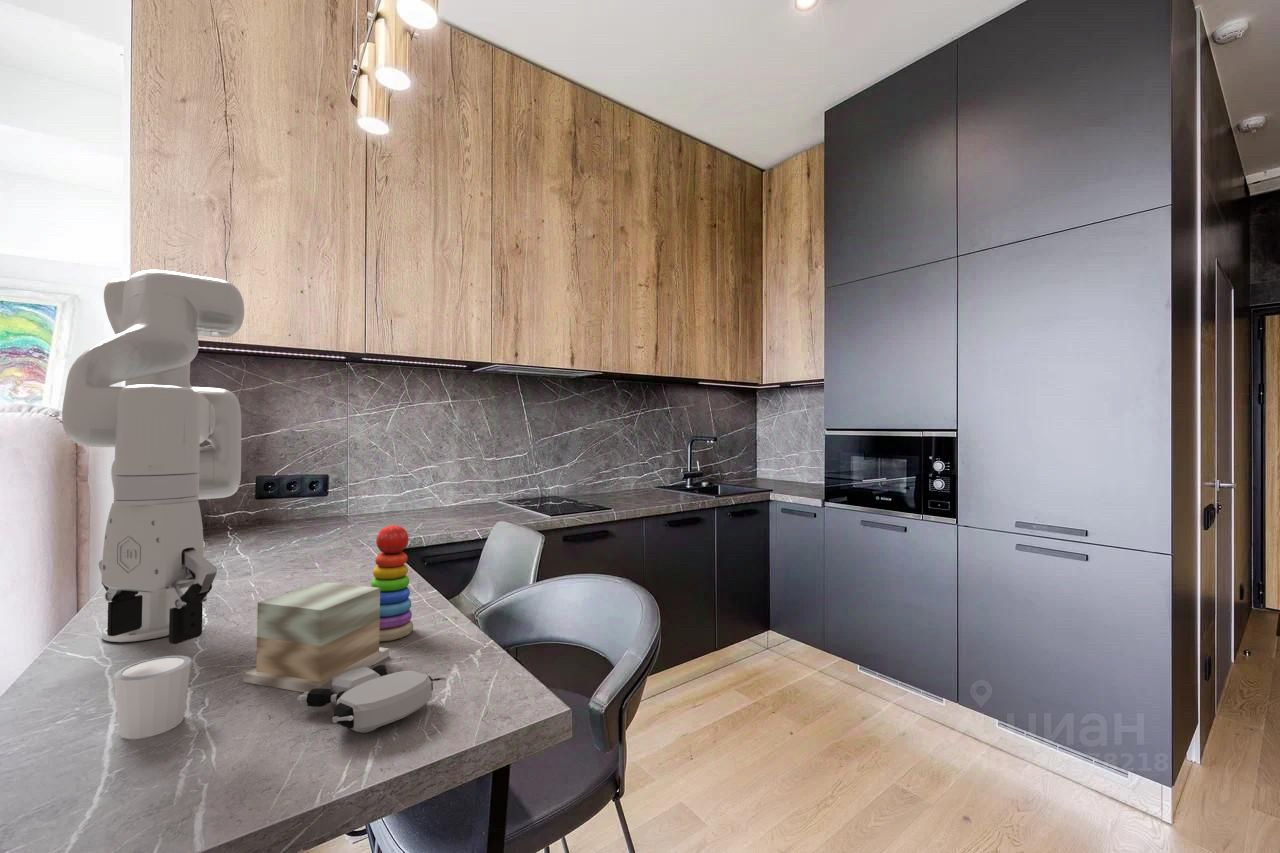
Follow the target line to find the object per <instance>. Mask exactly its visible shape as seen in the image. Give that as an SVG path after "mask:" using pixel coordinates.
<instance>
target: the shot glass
mask: <svg viewBox="0 0 1280 853" xmlns="http://www.w3.org/2000/svg"><path fill="white" fill-rule="evenodd" d="M192 660H193V659H192V658H191V657H189V656H187V655H166V656H159V657H152V658H148V659H145V660H142V661H141V660H140V661H138V662H135V663H131V664H130V665H125V667H123V668H121V669H119V670H117V671H116V672H115V674H113V683H114V684H113V685H114V694H115V702H116V710H117V711H116V713H117V714H116V715H117V720H118V721H117V722H118V731H119V736H120V735H121V736H120V737H121V739H124V740H125V739H127V740H138V739H139V740H140V739H144V738H149V737H154V736H157V735H159V734H163V733H166V732H168V731H170V730H171V729H174V728H175V727H177V726H179V725H180V724H181V723H182V722H183V721H184V718H185V712H186V710H185V709H186V705H187V704H186V703H187V697H188V689H189V683H190V682H189V680H190V675H191V668H192Z"/></svg>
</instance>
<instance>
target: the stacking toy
mask: <svg viewBox="0 0 1280 853" xmlns="http://www.w3.org/2000/svg"><path fill="white" fill-rule="evenodd" d="M375 540H376V541H375V542H376V547H377V548H378V550H379V551H380V552H381V553H379V554H377V555H376V557H375V560H374V562H375V564H376V566H375V567H374V568H373V570H372V575H373V577H374V578H373V579H371V584H370V585H371V586H370V587H376V588H380V629H379V642H390V641H396V640H399V638H400V639H402V638H404V636H405V637H406V635H407V636H408V635H409V634H411V632H412V631H413V629H414V623H413V621H412V616H413V613H412V610H411V608H412V600H411V598H409V597H410V595H411V591H410V588H409V587H408V586H409V584H410V578H409V576H408V575H407V574H408V571H409V569H408V566H407V565H406V563H407V562H408V555H407V554H406V552H403V551H404V550H405V549H406V547H407V545H408V544H409V543H408V542H409V534H408V532H407V530H406V529H405V528H404V527H403V526H401V525H398V524H397V525H395V524H391V525H386V526H385V527H383V528H382V529H380V530H379V532H378V533H377V536H376V538H375Z"/></svg>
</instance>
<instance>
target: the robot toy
mask: <svg viewBox="0 0 1280 853" xmlns="http://www.w3.org/2000/svg"><path fill="white" fill-rule="evenodd" d="M447 678H448V677H447V676H446V675H444V676H441V677H434V678H432V677H431V676H430V675H428V674H426V673H422V672H417V671H415V670H412V669H411V670H402V671H401V670H400V671H397V672H393V673H389V674H388V670H387V667H386V664H379V665H376V666H373V667H372V668H371V667H369V668H368V667H363V668H356V669H353V670H350V671H347V672H345V673H342V674H340V675H339V676H338V677H337V676H335V677H334V678H332V688H331V689H324V688H315V689H312V690H310V692H305V693H304V692H302V694H300V695H298V696H297V697H296V701H297V702H298V703H300V704H303V703H306V706H307V707H308V708H309V707H311V708H313V707H314V708H315V707H317V708H321V707H324V706H327V705H329V704H330V703H331V702H332V704H334V705H335V706H334V707H333V717H332V722H333V723H334V724H337V725H339V726H342V727H344V728H346V729H350V730H353V731H355V732H359V733H363V734H365V733H370V732H373V731H375V730H376V729H378V728H380V727H382V726H386V725H388V724H391V723H394V722H396V721H398V720H401V719H404V718H406V717H407V716H410V715H412V714H413V713H416V711H418V710H420V709H421V708H422V707H424V706H425V705H427V703H428V702H429V701H430V700H431V699H432V697H433V690H434V686H433V685H434V683H433V682H437V681H445V680H447Z"/></svg>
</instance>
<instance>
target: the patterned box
mask: <svg viewBox="0 0 1280 853" xmlns="http://www.w3.org/2000/svg"><path fill="white" fill-rule="evenodd" d="M256 610H257V611H256V612H257V614H256V615H257V616H256V618H257V620H256V622H257V623H256V624H257V626H256V662H255V666H256V667H255V668H252V669H251V670H248V671H246V672H244V673H243V683H247V684H253V685H260V686H265V687H269V688H270V687H271V688H277V689H281V690H282V689H283V690H288V691H294V692H301V693H305V692H310V690H312V689H315V688H324V689H330V690H332V678H334V677H335V676H337V677H338V676H339V675H340V674H342V673H345V672H347V671H350V670H353V669H356V668H363V667H368V668H371V667H373V666H374V665H376V664H379V662H382V661H384V660H385V659H387V658H389V657H390V648H389V647H388V648H386V647H380V641H379V629H380V588H376V587H372V586H368V585H367V586H366V585H358V584H357V585H355V584H348V583H346V584H345V583H338V582H337V583H335V582H330V581H329V582H326V581H320V582H318V583H314V584H311V585H308V586H305V587H302V588H299V589H295V590H292V591H289V592H286V593H282V594H280V595H277V596H274V597H271V598H268V599H264V600H261V601H258V602H257V609H256ZM372 665H373V666H372Z"/></svg>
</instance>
